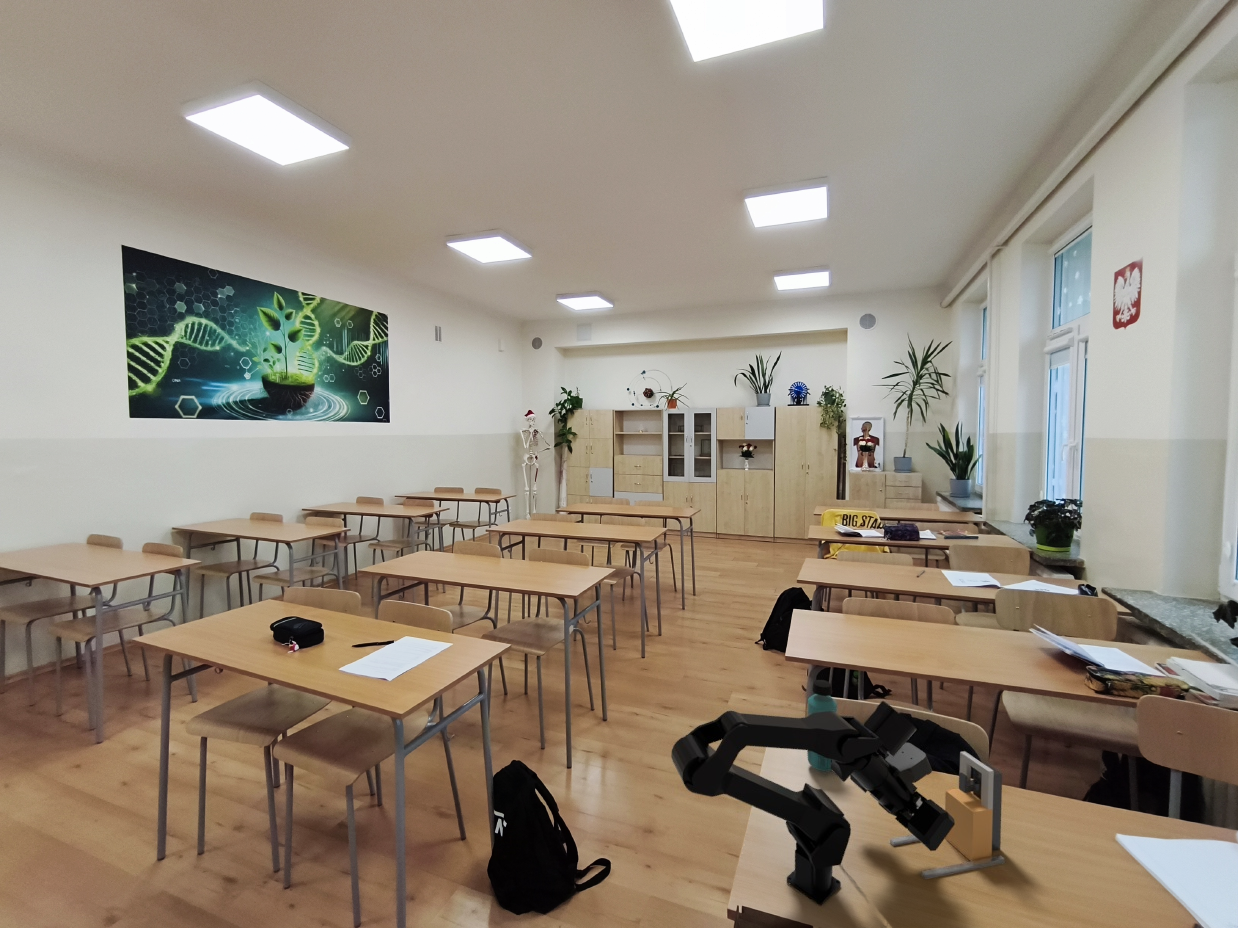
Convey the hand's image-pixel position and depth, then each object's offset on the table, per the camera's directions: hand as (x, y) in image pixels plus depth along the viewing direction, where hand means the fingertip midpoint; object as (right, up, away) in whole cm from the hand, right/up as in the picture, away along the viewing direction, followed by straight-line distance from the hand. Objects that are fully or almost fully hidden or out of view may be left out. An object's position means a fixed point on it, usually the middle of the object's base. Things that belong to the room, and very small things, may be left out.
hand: (925, 824), depth 95 cm
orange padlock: (+9, -5, +2) cm, 10 cm away
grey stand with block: (+5, -7, +1) cm, 8 cm away
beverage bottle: (-8, -6, +27) cm, 29 cm away
